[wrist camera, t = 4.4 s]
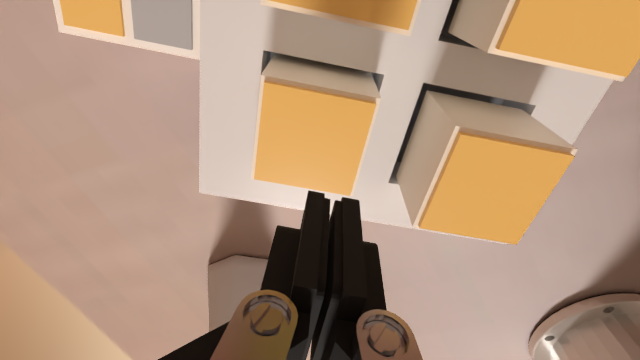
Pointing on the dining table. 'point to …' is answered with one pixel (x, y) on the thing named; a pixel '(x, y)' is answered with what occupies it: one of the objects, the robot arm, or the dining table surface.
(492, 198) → the button
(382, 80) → the button board
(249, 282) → the flask
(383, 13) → the button
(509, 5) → the button
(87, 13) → the card
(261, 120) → the button
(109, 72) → the dining table surface
